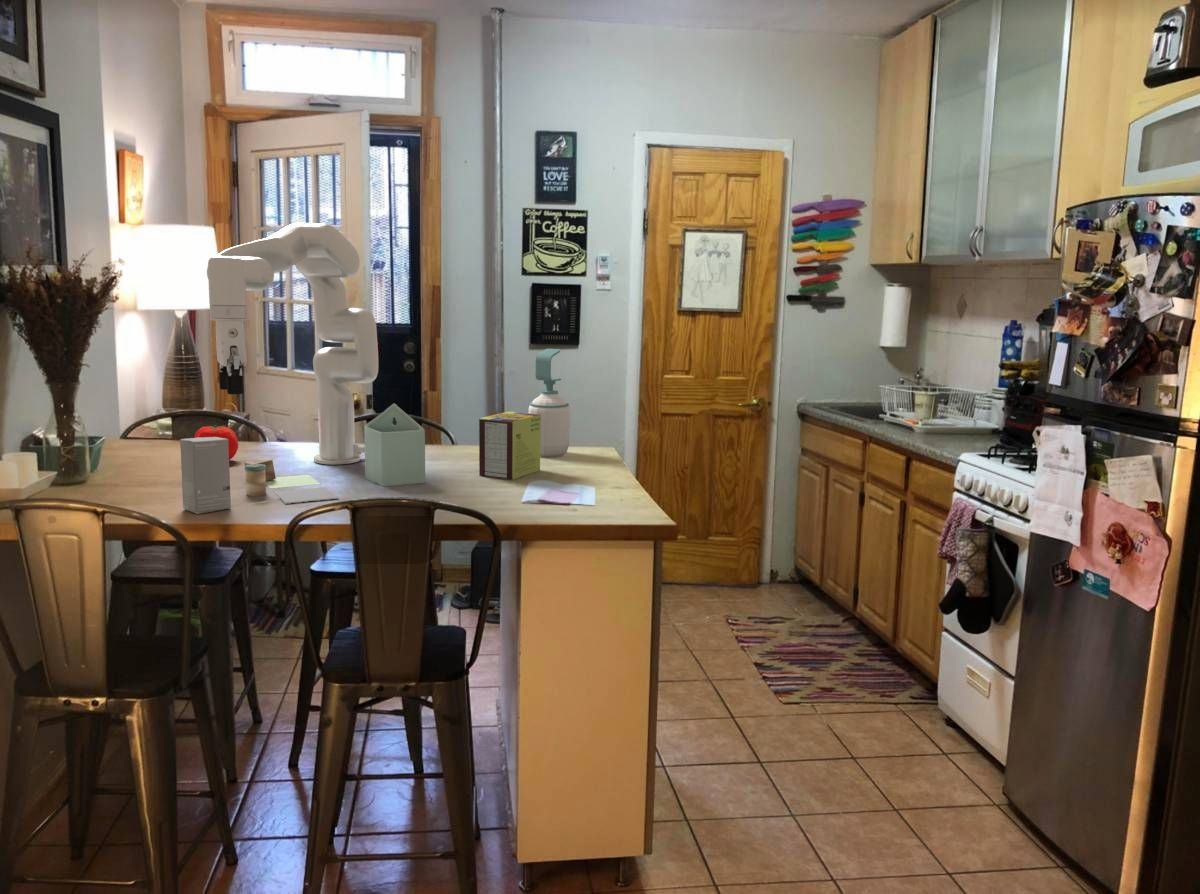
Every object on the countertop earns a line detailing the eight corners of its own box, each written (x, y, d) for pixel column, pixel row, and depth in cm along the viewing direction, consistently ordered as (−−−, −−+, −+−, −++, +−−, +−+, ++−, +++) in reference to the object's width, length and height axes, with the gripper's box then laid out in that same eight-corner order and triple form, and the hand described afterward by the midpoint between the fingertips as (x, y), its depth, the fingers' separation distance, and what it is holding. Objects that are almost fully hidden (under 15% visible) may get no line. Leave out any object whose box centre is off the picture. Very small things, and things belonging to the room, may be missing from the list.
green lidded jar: (264, 492, 224) (263, 463, 223) (268, 496, 221) (267, 467, 219) (244, 494, 222) (242, 465, 221) (247, 498, 218) (246, 468, 217)
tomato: (183, 463, 254) (181, 426, 253) (215, 456, 265) (213, 420, 263) (217, 468, 250) (215, 429, 248) (248, 460, 261) (247, 424, 259)
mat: (308, 476, 243) (308, 474, 243) (320, 485, 233) (320, 483, 233) (260, 480, 237) (260, 478, 237) (270, 490, 227) (270, 488, 227)
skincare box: (196, 515, 202) (192, 442, 199) (181, 509, 207) (177, 438, 204) (233, 508, 208) (230, 438, 206) (218, 503, 213) (214, 433, 210)
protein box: (540, 470, 258) (541, 414, 255) (512, 480, 244) (512, 421, 241) (507, 466, 262) (508, 410, 259) (477, 476, 248) (478, 417, 246)
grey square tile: (325, 488, 229) (324, 487, 229) (338, 499, 219) (338, 497, 219) (273, 493, 223) (273, 491, 223) (285, 504, 213) (285, 502, 213)
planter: (351, 484, 235) (350, 405, 232) (366, 477, 243) (364, 401, 239) (413, 488, 232) (412, 409, 228) (425, 482, 240) (425, 405, 236)
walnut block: (266, 476, 238) (263, 457, 237) (275, 479, 235) (272, 459, 234) (247, 481, 235) (244, 462, 234) (256, 484, 232) (253, 464, 230)
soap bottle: (577, 453, 283) (579, 349, 277) (553, 460, 272) (555, 351, 267) (543, 449, 289) (545, 347, 283) (519, 454, 279) (520, 349, 273)
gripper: (254, 315, 201) (256, 395, 204) (239, 312, 216) (241, 387, 219) (216, 315, 197) (219, 396, 200) (204, 312, 212) (207, 388, 215)
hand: (231, 391), depth 210 cm, fingers open, 9 cm apart
